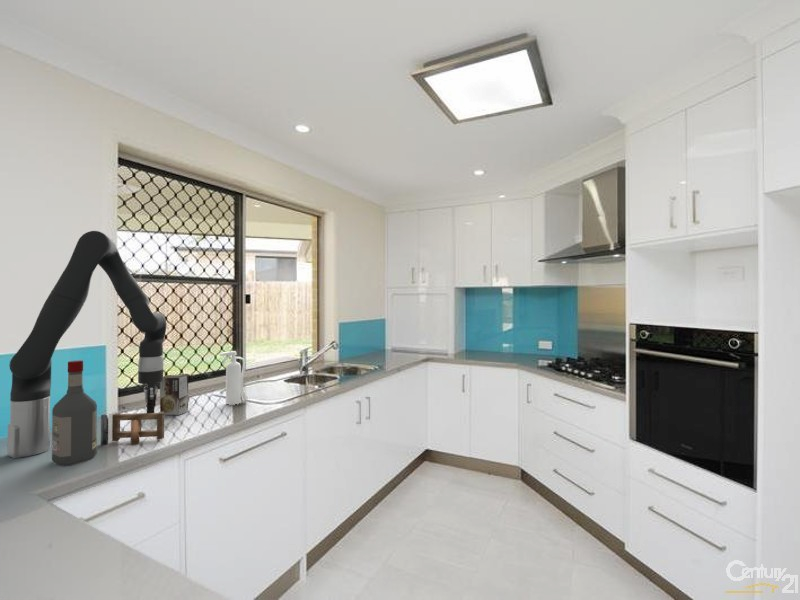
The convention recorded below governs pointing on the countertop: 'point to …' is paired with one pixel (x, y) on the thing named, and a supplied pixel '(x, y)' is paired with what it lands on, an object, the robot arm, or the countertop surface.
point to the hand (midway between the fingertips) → (150, 417)
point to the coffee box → (174, 394)
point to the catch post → (135, 432)
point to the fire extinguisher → (234, 379)
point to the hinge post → (104, 429)
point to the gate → (142, 433)
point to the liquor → (74, 422)
